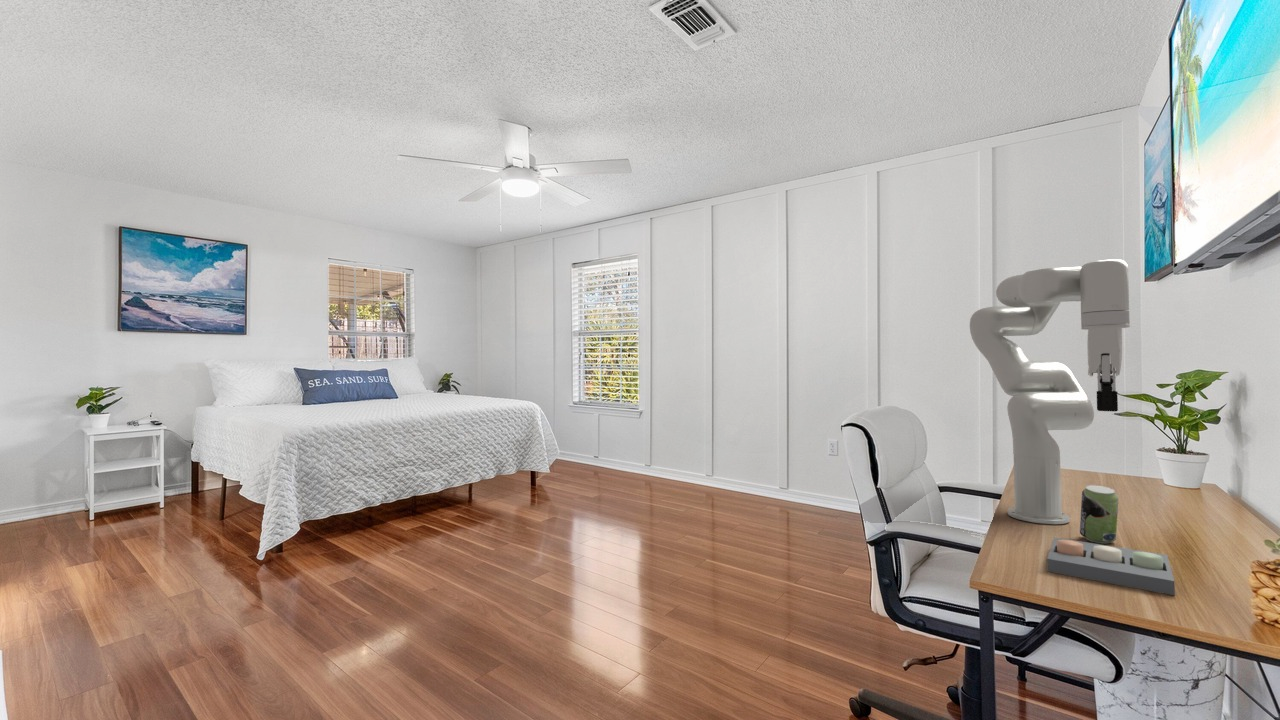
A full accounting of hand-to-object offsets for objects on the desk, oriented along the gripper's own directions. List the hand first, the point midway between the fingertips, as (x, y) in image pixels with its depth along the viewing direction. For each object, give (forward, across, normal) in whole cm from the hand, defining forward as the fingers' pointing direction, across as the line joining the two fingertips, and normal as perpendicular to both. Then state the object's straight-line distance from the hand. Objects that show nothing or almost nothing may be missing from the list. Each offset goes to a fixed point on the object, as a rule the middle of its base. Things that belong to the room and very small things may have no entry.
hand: (1107, 410), depth 110 cm
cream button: (+29, +12, 0) cm, 31 cm away
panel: (+29, +12, 0) cm, 31 cm away
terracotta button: (+29, +12, -6) cm, 32 cm away
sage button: (+29, +12, +5) cm, 32 cm away
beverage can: (+29, -8, -2) cm, 30 cm away
